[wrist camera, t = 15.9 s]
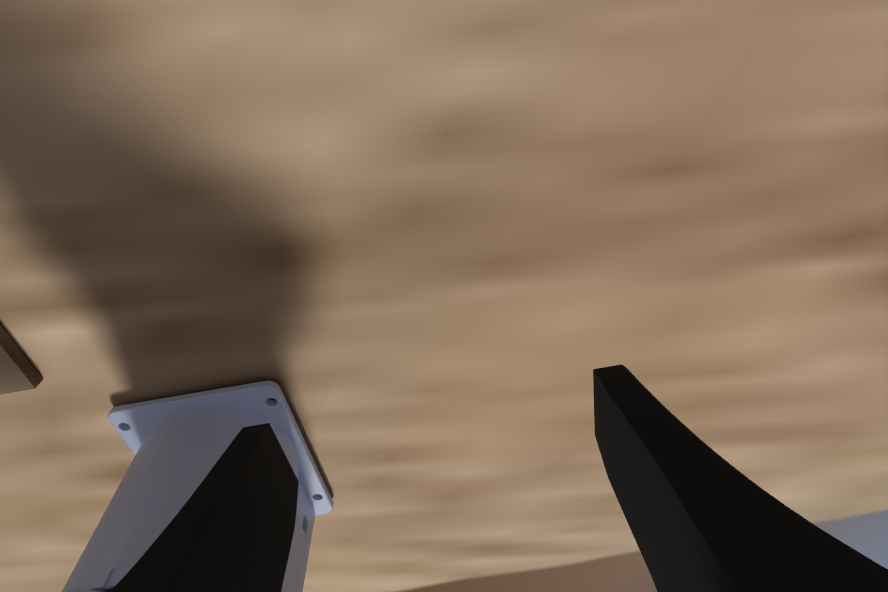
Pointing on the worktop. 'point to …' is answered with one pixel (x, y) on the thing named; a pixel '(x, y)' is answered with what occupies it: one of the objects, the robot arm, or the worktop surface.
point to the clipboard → (15, 367)
